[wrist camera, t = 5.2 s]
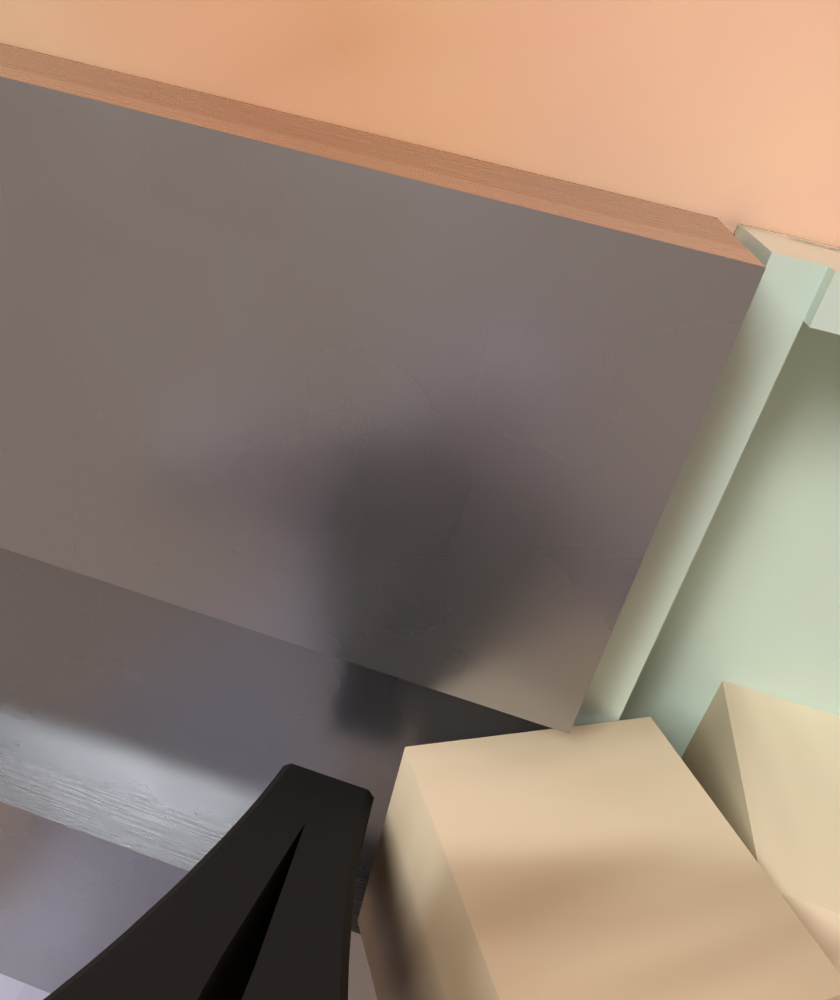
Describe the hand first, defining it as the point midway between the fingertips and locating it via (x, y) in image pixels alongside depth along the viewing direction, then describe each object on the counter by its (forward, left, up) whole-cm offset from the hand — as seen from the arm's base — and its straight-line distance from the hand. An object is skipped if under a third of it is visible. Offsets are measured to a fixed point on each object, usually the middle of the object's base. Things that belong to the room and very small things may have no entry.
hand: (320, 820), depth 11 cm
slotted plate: (0, +4, -4) cm, 6 cm away
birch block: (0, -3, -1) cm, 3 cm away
